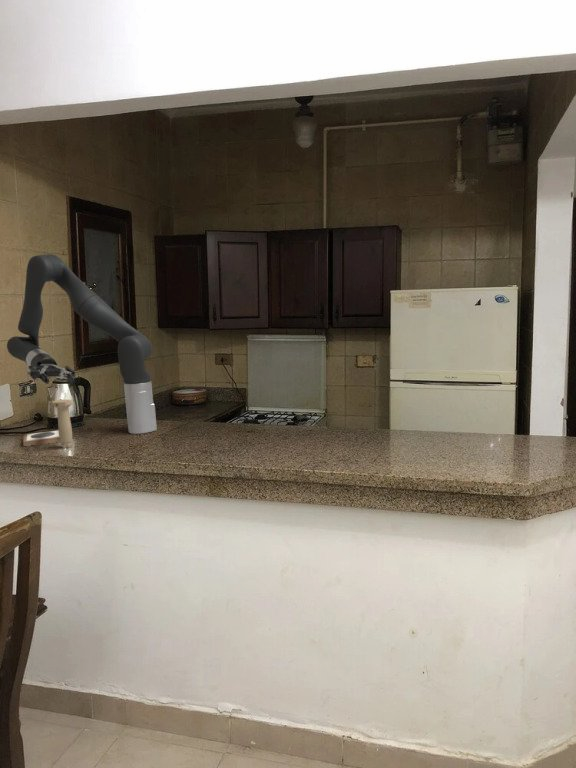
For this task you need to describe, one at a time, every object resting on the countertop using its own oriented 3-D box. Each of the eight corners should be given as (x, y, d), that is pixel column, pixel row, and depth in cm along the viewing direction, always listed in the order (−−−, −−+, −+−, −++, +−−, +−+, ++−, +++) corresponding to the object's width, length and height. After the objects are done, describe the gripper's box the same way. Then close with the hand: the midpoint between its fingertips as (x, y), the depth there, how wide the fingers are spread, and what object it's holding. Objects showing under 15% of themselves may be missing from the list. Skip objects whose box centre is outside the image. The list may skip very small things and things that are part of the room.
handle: (69, 449, 186) (64, 402, 184) (53, 448, 189) (48, 402, 186) (80, 445, 191) (75, 399, 188) (64, 444, 193) (59, 399, 191)
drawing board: (61, 434, 209) (61, 429, 208) (62, 441, 198) (62, 436, 197) (24, 439, 204) (24, 433, 204) (23, 446, 193) (22, 441, 193)
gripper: (21, 352, 200) (41, 370, 190) (62, 353, 210) (83, 370, 200) (18, 373, 202) (37, 391, 192) (59, 372, 212) (79, 390, 202)
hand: (60, 380), depth 196 cm, fingers open, 8 cm apart
